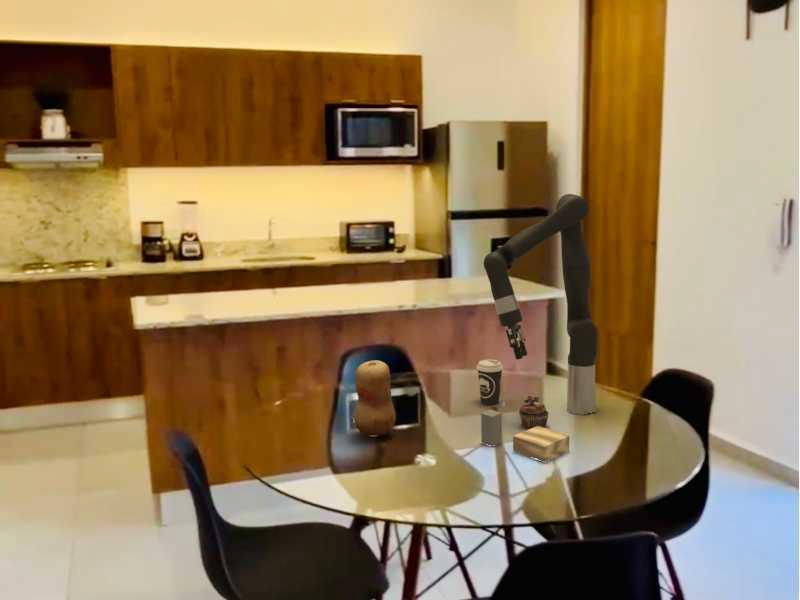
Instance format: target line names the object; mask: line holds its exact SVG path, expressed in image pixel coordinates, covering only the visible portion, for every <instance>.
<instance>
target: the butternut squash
mask: <svg viewBox="0 0 800 600" xmlns="http://www.w3.org/2000/svg"><path fill="white" fill-rule="evenodd" d="M390 370H391V369H390V368H389V366H388V364H387V363H385V361H381V360H377V359H376V360H375V359H374V360H369V361H365V362H363V363H361V364H360V365H359V366H358V367H357V369H356V371H355V390H356V393H357V394H356V395H357V398H358V399H357V403H356V407H355V410H354V415H353V422H354V426H355V427H356V429H357V430H358V431H359V432H360V433H361V434H364V435H365V434H366V436H367V435H380V436H382V435H381V434H383V435H386V434H385V433H388V432H389V433H390V432H391V431H392V429H393V428H394V425H395V422H396V420H397V414H396V411H395V406H394V404H393V401H392V386H391V375H390V374H391V371H390ZM389 433H388V434H389Z"/></svg>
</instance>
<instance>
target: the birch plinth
mask: <svg viewBox="0 0 800 600" xmlns="http://www.w3.org/2000/svg"><path fill="white" fill-rule="evenodd" d="M513 451H515V452H514V453H516V454H519V455H522V456H525V457H528V458H530V457H533V458H537V459H539V460H541V461H544V462H545V461H547V462H549V461H548V460H550V461H552V460H553V458H554V459H556V458H558V457H560V456H562V455H564V454H567V453H568V452H570V436H569V435H568V434H565V433H561V432H558V431H556V430H552V429H549V428H546V427H545V428H543V427H540V426H536V427H534V428H531V429H529V430H527V429H526V430H524V431H523V432H520V433H517V434H514V435H513V436H512V452H513ZM533 458H532V459H533ZM551 459H552V460H551ZM541 461H540V462H541ZM544 462H543V463H544ZM545 463H546V462H545Z"/></svg>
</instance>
